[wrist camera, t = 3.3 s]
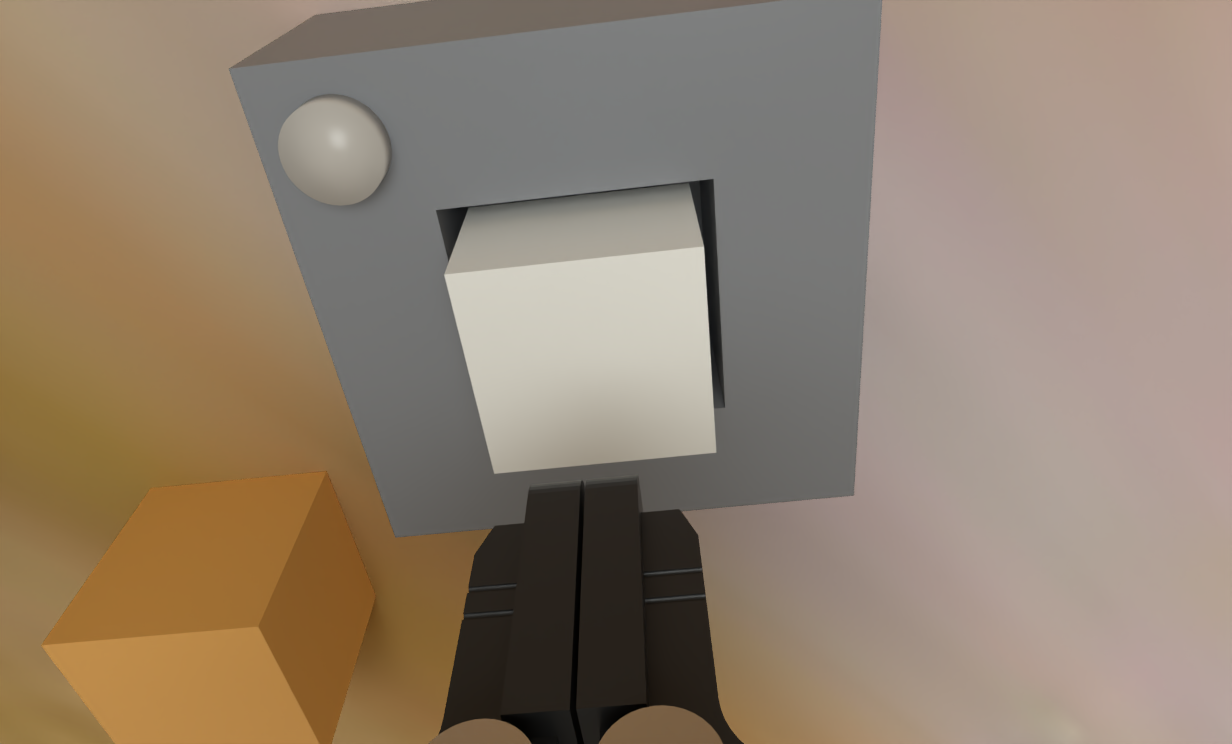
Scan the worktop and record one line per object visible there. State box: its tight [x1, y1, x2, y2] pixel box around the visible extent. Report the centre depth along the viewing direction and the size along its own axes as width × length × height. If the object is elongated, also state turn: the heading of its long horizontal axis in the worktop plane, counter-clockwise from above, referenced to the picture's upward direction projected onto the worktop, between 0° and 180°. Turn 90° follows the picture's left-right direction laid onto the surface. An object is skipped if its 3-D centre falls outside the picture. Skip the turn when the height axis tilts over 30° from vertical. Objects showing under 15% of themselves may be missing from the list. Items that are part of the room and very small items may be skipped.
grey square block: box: [229, 0, 882, 537], centre depth 19 cm, size 11×11×6 cm
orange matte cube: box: [41, 471, 376, 744], centre depth 25 cm, size 6×6×6 cm
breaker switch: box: [444, 183, 716, 474], centre depth 16 cm, size 4×4×3 cm
